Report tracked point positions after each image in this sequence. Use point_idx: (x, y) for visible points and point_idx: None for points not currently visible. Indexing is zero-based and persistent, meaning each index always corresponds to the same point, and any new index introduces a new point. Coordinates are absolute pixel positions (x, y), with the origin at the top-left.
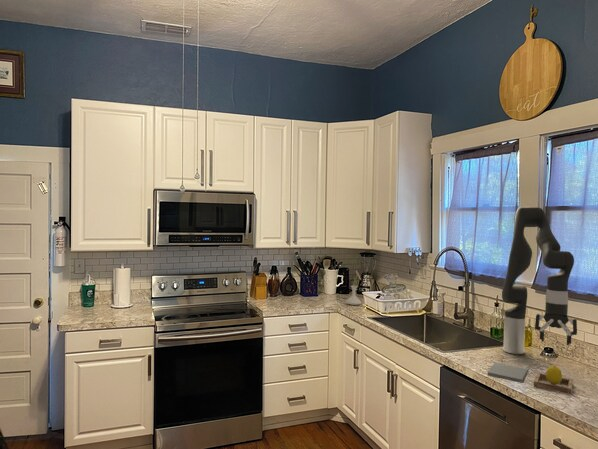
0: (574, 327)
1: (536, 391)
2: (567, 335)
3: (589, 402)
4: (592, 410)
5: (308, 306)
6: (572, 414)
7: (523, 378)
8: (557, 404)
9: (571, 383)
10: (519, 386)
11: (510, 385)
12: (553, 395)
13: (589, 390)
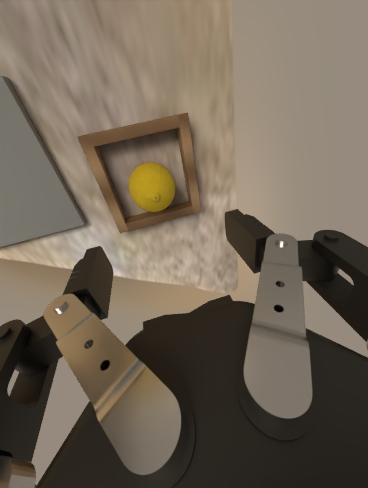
0: (358, 319)
1: (140, 250)
2: (256, 265)
3: None
4: None
5: None
6: (214, 287)
7: (73, 201)
8: (190, 274)
9: (192, 162)
10: None
11: None
12: (172, 242)
13: (227, 130)
